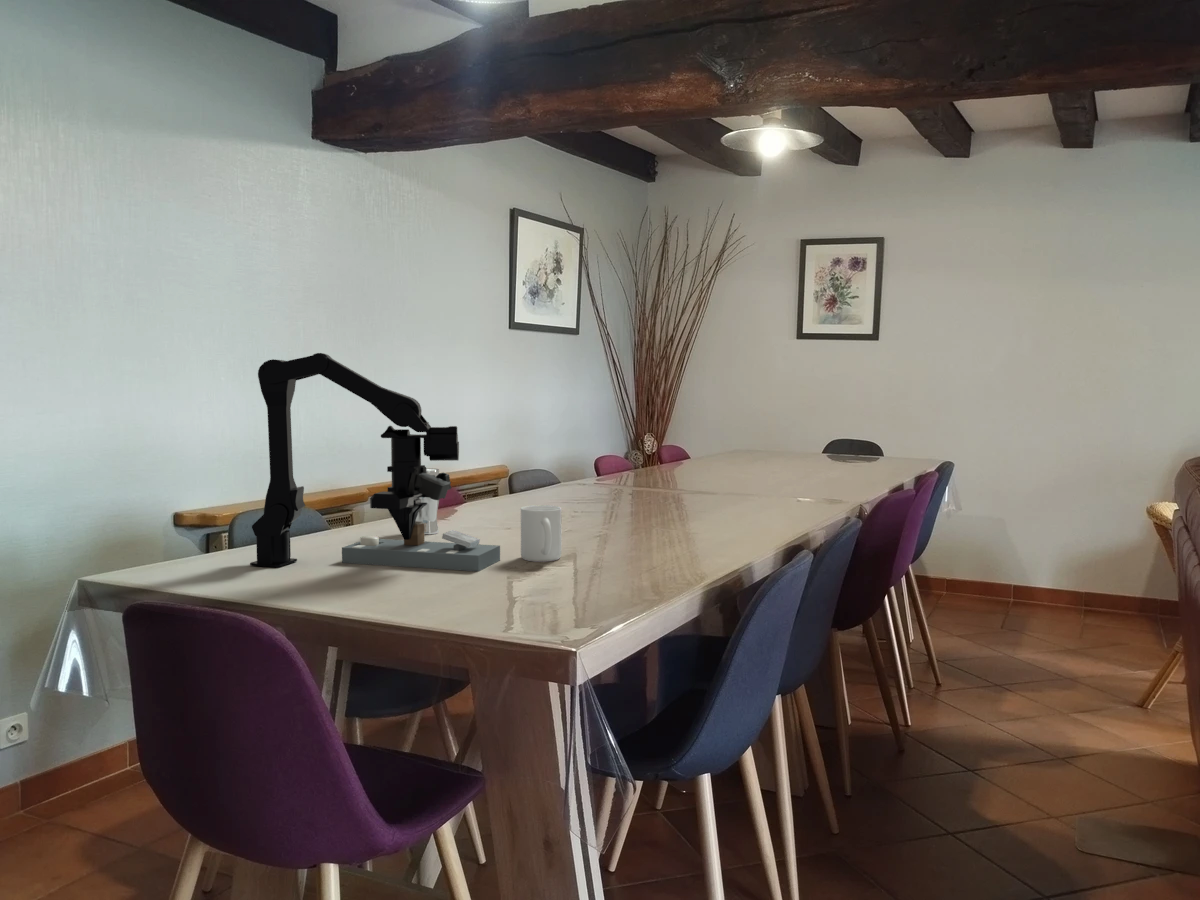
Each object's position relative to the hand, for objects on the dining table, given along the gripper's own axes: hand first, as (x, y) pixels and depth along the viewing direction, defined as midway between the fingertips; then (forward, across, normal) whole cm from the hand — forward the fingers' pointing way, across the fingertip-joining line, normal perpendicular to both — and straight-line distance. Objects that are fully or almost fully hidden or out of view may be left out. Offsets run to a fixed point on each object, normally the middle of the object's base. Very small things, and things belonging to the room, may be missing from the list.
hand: (407, 539), depth 182 cm
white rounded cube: (+4, +1, +9) cm, 10 cm away
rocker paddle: (0, +1, -11) cm, 11 cm away
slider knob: (+1, +3, 0) cm, 3 cm away
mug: (+5, +10, -25) cm, 27 cm away
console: (+4, +1, -2) cm, 5 cm away
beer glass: (+5, +33, +12) cm, 35 cm away
